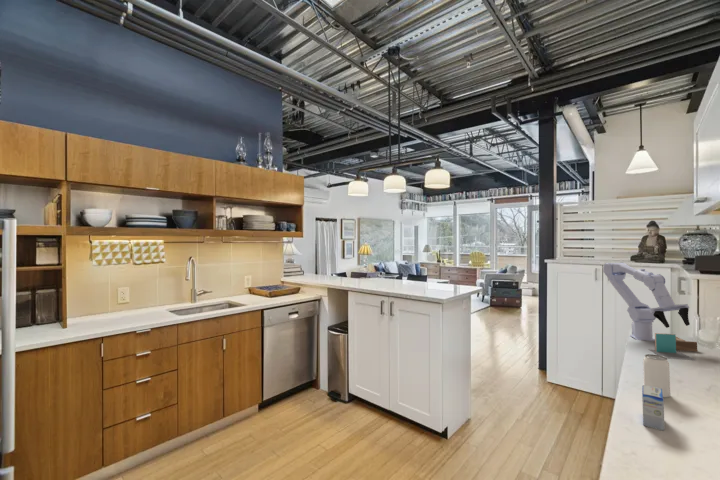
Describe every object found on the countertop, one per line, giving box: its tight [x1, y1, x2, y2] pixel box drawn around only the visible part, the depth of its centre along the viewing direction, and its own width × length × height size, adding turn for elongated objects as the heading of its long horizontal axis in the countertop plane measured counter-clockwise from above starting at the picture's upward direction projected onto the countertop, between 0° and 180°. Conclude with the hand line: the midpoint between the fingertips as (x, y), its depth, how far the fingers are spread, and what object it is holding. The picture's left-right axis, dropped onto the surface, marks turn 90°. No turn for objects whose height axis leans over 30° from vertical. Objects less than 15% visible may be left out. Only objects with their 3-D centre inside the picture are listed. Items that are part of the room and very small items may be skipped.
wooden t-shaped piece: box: [676, 336, 698, 352], centre depth 160 cm, size 13×9×4 cm
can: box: [642, 353, 671, 399], centre depth 112 cm, size 6×6×12 cm
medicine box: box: [641, 384, 665, 431], centre depth 94 cm, size 8×4×9 cm, turn 141°
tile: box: [654, 332, 677, 353], centre depth 152 cm, size 1×7×8 cm, turn 71°
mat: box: [648, 348, 696, 361], centre depth 149 cm, size 12×12×1 cm
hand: (677, 326), depth 156 cm, fingers open, 7 cm apart
